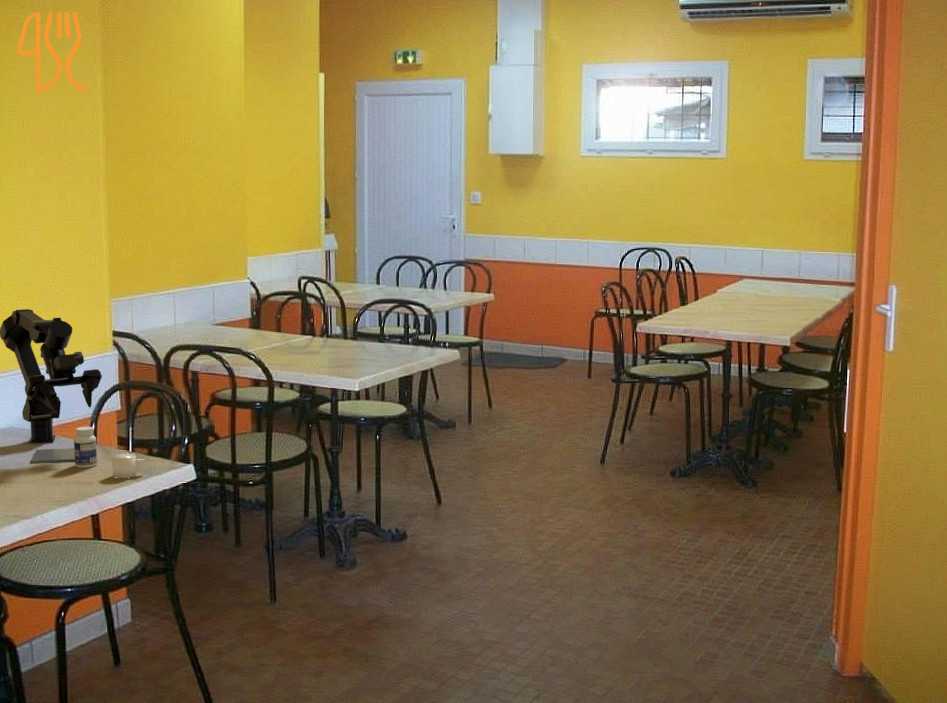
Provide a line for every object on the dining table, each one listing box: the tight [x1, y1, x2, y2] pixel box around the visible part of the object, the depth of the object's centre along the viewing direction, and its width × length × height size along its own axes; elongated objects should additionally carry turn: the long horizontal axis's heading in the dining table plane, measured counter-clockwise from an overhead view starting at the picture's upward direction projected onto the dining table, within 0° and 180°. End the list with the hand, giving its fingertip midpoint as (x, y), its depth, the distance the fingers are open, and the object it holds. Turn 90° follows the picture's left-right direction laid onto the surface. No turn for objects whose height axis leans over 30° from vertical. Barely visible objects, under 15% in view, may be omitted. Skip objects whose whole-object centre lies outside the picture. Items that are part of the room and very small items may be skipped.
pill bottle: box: [73, 426, 98, 469], centre depth 300 cm, size 5×5×10 cm
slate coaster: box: [30, 447, 75, 464], centre depth 309 cm, size 12×12×1 cm
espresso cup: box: [111, 453, 146, 479], centre depth 291 cm, size 6×8×5 cm
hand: (72, 408), depth 304 cm, fingers open, 9 cm apart
